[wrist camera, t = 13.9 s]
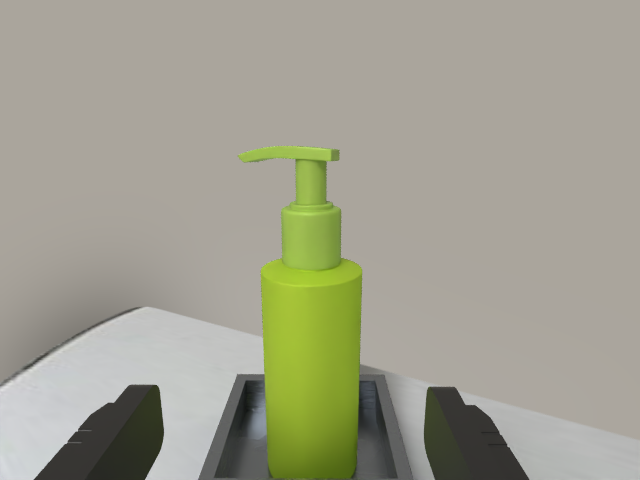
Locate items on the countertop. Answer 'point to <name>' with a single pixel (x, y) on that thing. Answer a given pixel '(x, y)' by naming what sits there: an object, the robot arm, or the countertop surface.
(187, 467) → the countertop surface
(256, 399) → the metal tray
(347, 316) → the soap dispenser
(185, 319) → the countertop surface
